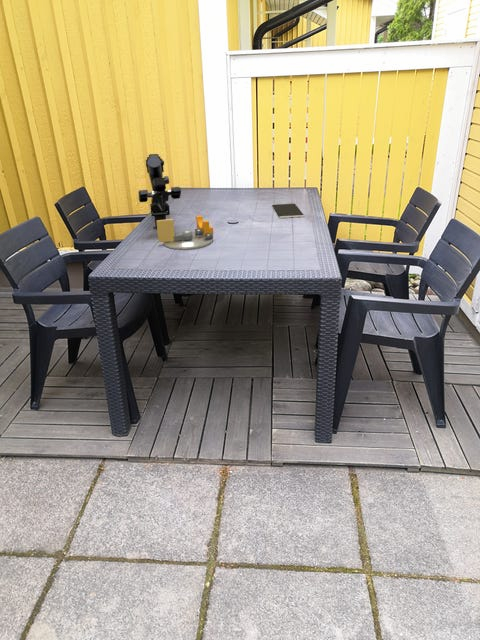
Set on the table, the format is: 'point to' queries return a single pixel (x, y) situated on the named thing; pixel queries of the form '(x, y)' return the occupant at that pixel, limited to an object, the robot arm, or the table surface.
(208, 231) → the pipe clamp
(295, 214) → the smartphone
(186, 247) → the dial plate
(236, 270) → the table surface
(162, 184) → the robot arm
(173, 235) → the tan upright panel
